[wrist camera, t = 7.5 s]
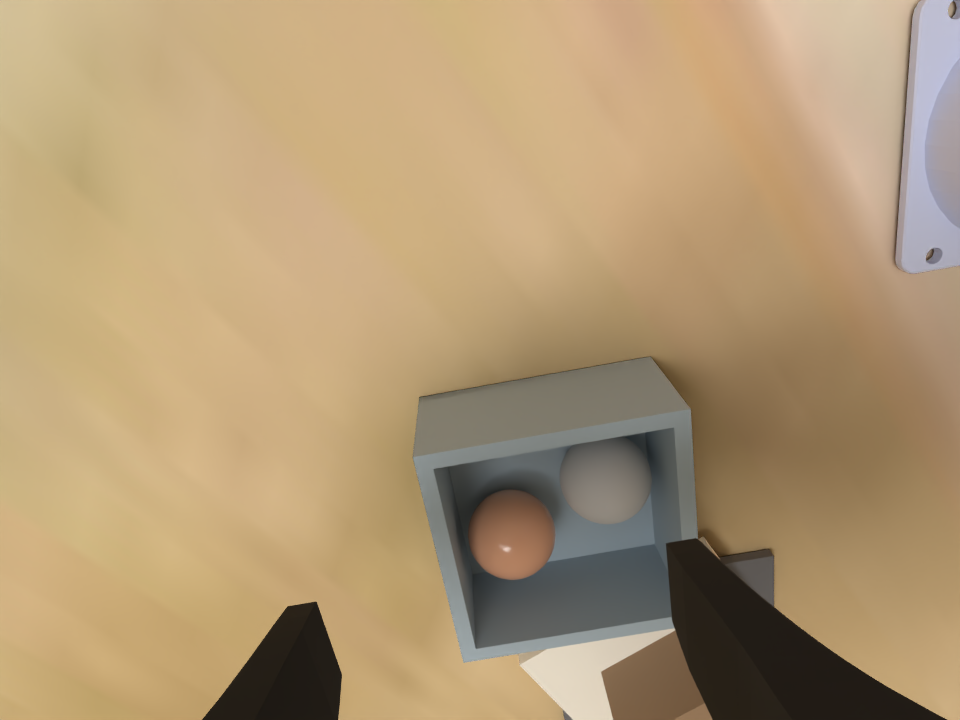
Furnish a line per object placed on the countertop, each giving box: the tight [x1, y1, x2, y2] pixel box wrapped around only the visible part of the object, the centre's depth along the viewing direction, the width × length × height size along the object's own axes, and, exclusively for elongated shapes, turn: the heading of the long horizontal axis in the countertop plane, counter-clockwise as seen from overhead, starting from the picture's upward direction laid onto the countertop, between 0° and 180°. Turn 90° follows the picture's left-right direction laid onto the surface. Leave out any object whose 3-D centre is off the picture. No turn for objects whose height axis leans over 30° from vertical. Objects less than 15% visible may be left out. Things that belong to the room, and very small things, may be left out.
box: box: [413, 357, 698, 663], centre depth 22 cm, size 8×8×4 cm
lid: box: [518, 537, 720, 720], centre depth 25 cm, size 9×9×4 cm
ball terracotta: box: [468, 489, 556, 580], centre depth 22 cm, size 3×3×3 cm
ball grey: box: [560, 436, 652, 524], centre depth 21 cm, size 3×3×3 cm
